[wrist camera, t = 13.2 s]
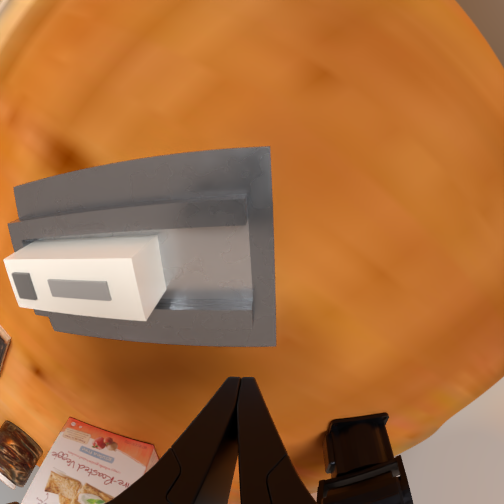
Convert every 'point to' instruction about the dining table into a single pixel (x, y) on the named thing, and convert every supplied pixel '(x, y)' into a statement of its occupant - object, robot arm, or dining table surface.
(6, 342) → the hardcover book
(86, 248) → the white rectangular block
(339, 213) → the dining table surface
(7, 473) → the jar
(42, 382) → the dining table surface
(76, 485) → the cracker box
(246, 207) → the mount plate
